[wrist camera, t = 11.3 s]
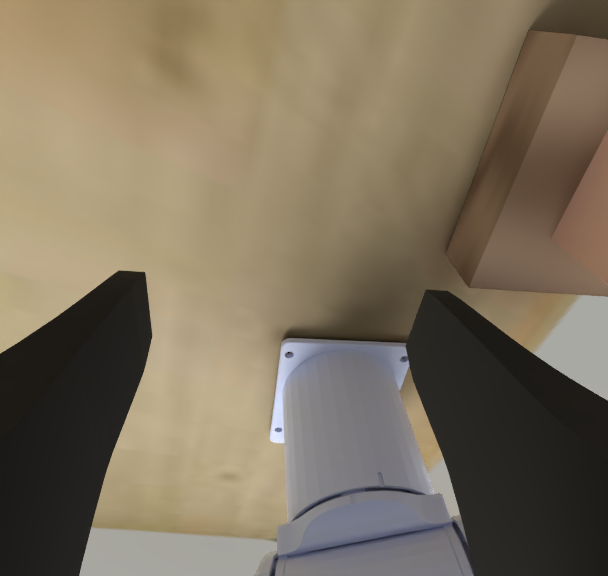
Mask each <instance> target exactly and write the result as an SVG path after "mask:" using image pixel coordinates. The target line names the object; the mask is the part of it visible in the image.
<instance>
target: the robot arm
mask: <svg viewBox="0 0 608 576" xmlns="http://www.w3.org/2000/svg"><path fill="white" fill-rule="evenodd" d="M151 339H152V329H151V320H150V311H149V302H148V293H147V284H146V275H145V272H133V271H118V272H116V273H115V274H113V275H112V276H111V277H109V278H108V279H107V280H105V281H104V282H103V283H101V284H100V285H99V286H98V287H96V288H95V289H94V290H92V291H91V292H90V293H88V294H87V295H86V296H85V297H83V298H82V299H80V300H79V301H78V302H76V303H75V304H74V305H72V306H71V307H70V308H68V309H67V310H66V311H64V312H63V313H61V314H60V315H59V316H57V317H56V318H54V319H53V320H51V321H50V322H48V323H47V324H45V325H44V326H42V327H41V328H39V329H38V330H36V331H35V332H33V333H32V334H30V335H29V336H27V337H26V338H24V339H23V340H21V341H20V342H18V343H17V344H15V345H14V346H12V347H10V348H9V349H7V350H6V351H4V352H2V353H0V576H79V573H80V569H81V565H82V561H83V557H84V553H85V549H86V545H87V541H88V537H89V533H90V530H91V526H92V522H93V518H94V514H95V510H96V507H97V503H98V499H99V496H100V492H101V488H102V485H103V481H104V477H105V474H106V471H107V468H108V465H109V462H110V459H111V456H112V453H113V450H114V448H115V445H116V442H117V440H118V437H119V435H120V432H121V430H122V427H123V424H124V422H125V419H126V417H127V414H128V412H129V409H130V406H131V404H132V401H133V399H134V396H135V393H136V391H137V388H138V386H139V383H140V380H141V378H142V375H143V372H144V369H145V365H146V361H147V357H148V352H149V348H150V344H151ZM286 352H292V353H286ZM403 356H405V357H404V358H401V357H403ZM409 365H410V369H411V373H412V377H413V380H414V383H415V386H416V389H417V391H418V394H419V396H420V399H421V401H422V404H423V407H424V409H425V412H426V414H427V417H428V419H429V422H430V424H431V427H432V429H433V432H434V434H435V437H436V439H437V442H438V444H439V447H440V449H441V452H442V455H443V457H444V460H445V463H446V466H447V469H448V472H449V475H450V479H451V483H452V486H453V490H454V493H455V497H456V500H457V504H458V507H459V511H460V515H458V516H453V517H452V518H450V516H449V513H448V510H447V507H446V504H445V501H444V499H443V496H442V494H440V493H438V494H435V493H434V491H433V487H432V485H431V482H430V479H429V476H428V473H427V470H426V467H425V464H424V461H423V458H422V455H421V453H420V450H419V447H418V444H417V441H416V438H415V435H414V432H413V429H412V426H411V423H410V420H409V418H408V415H407V412H406V409H405V406H404V403H403V400H402V397H401V394H400V389H401V386H402V384H403V381H404V379H405V376H406V373H407V371H408V368H409ZM270 440H271V441H272V442H274V443H284V446H285V470H286V495H287V519H288V523H287V524H283V525H279V526H278V527H277V546H278V551H274V552H270V553H268V554H266V555H265V556H264V557H263V559H262V561H261V563H260V565H259V567H258V570H257V571H256V573H255V575H254V576H608V401H607V400H606V399H604V398H602V397H600V396H599V395H597V394H595V393H593V392H592V391H590V390H588V389H587V388H585V387H583V386H582V385H580V384H578V383H577V382H575V381H573V380H572V379H570V378H568V377H567V376H565V375H564V374H562V373H561V372H559V371H558V370H556V369H554V368H553V367H551V366H550V365H548V364H547V363H546V362H544V361H543V360H541V359H540V358H538V357H537V356H535V355H534V354H533V353H531V352H530V351H528V350H527V349H526V348H524V347H523V346H521V345H520V344H519V343H517V342H516V341H514V340H513V339H512V338H510V337H509V336H508V335H506V334H505V333H504V332H502V331H501V330H500V329H498V328H497V327H496V326H495V325H493V324H492V323H491V322H489V321H488V320H487V319H485V318H484V317H483V316H482V315H480V314H479V313H478V312H476V311H475V310H474V309H472V308H471V307H470V306H468V305H467V304H466V303H464V302H463V301H462V300H460V299H459V298H457V297H456V296H454V295H453V294H451V293H450V292H448V291H439V290H426V291H425V293H424V296H423V299H422V302H421V305H420V307H419V310H418V313H417V316H416V319H415V321H414V324H413V327H412V330H411V332H410V335H409V338H408V341H407V343H393V342H370V341H347V340H324V339H302V338H287V339H285V340H283V341H282V344H281V350H280V358H279V366H278V374H277V382H276V390H275V398H274V406H273V414H272V421H271V429H270Z"/></svg>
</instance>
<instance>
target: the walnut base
mask: <svg viewBox="0 0 608 576" xmlns="http://www.w3.org/2000/svg"><path fill="white" fill-rule="evenodd" d="M607 130H608V40H607V39H601V38H594V37H588V36H582V35H574V34H564V33H554V32H544V31H534V30H528V33H527V36H526V39H525V41H524V44H523V47H522V49H521V52H520V55H519V57H518V60H517V63H516V66H515V68H514V71H513V74H512V76H511V79H510V82H509V84H508V87H507V90H506V93H505V95H504V98H503V101H502V103H501V106H500V109H499V112H498V114H497V117H496V120H495V122H494V125H493V128H492V130H491V133H490V136H489V139H488V141H487V144H486V147H485V149H484V152H483V155H482V157H481V160H480V163H479V166H478V168H477V171H476V174H475V176H474V179H473V182H472V185H471V187H470V190H469V193H468V195H467V198H466V201H465V203H464V206H463V209H462V212H461V214H460V217H459V220H458V222H457V225H456V228H455V230H454V233H453V236H452V239H451V241H450V244H449V247H448V249H447V252H446V256H447V258H448V259H449V261H450V262H451V263H452V265H453V266H454V268H455V269H456V270H457V272H458V273H459V275H460V276H461V277H462V279H463V280H464V282H465V283H466V284H467V286H468V287H469V288H482V289H498V290H514V291H529V292H545V293H561V294H576V295H592V296H607V297H608V285H607V284H606V283H605V282H604V281H602V280H601V279H600V278H599V277H597V276H596V275H595V274H594V273H593V272H591V271H590V270H589V269H588V268H587V267H585V266H584V265H583V264H582V263H580V262H579V261H578V260H577V259H576V258H574V257H573V256H572V255H571V254H570V253H568V252H567V251H566V250H565V249H563V248H562V247H561V246H560V245H559V244H557V243H556V242H555V241H554V240H553V239H551V237H552V235H553V234H554V232H555V230H556V228H557V226H558V224H559V222H560V220H561V218H562V216H563V214H564V212H565V211H566V209H567V207H568V205H569V203H570V201H571V199H572V197H573V195H574V193H575V191H576V190H577V188H578V186H579V184H580V182H581V180H582V178H583V176H584V174H585V172H586V170H587V168H588V167H589V165H590V163H591V161H592V159H593V157H594V155H595V153H596V151H597V149H598V147H599V145H600V144H601V142H602V140H603V138H604V136H605V134H606V132H607Z"/></svg>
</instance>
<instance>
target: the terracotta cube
mask: <svg viewBox="0 0 608 576" xmlns="http://www.w3.org/2000/svg"><path fill="white" fill-rule="evenodd" d="M551 239H553V240H554V241H555V242H556V243H557V244H559V245H560V246H561V247H562V248H563V249H565V250H566V251H567V252H568V253H570V254H571V255H572V256H573V257H574V258H576V259H577V260H578V261H579V262H580V263H582V264H583V265H584V266H585V267H587V268H588V269H589V270H590V271H591V272H593V273H594V274H595V275H596V276H597V277H599V278H600V279H601V280H602V281H604V282H605V283H606V284H607V285H608V130H607V132H606V134H605V136H604V138H603V140H602V142H601V144H600V145H599V147H598V149H597V151H596V153H595V155H594V157H593V159H592V161H591V163H590V165H589V167H588V168H587V170H586V172H585V174H584V176H583V178H582V180H581V182H580V184H579V186H578V188H577V190H576V191H575V193H574V195H573V197H572V199H571V201H570V203H569V205H568V207H567V209H566V211H565V212H564V214H563V216H562V218H561V220H560V222H559V224H558V226H557V228H556V230H555V232H554V234H553V235H552V237H551Z"/></svg>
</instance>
